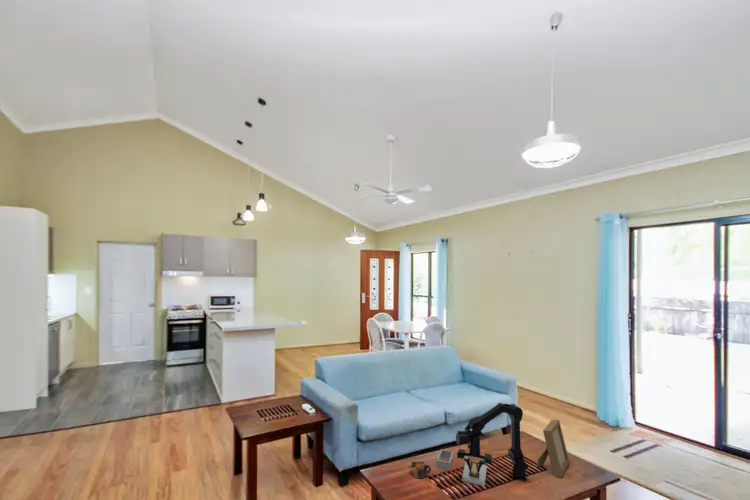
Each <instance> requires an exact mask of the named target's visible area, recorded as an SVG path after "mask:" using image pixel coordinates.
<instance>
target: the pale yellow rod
mask: <svg viewBox="0 0 750 500" xmlns="http://www.w3.org/2000/svg"><path fill="white" fill-rule="evenodd" d="M470 462H471V477H475V478H478V464H479V461H478V460H477V459H476V460H475V459H472V460H471V459H470Z"/></svg>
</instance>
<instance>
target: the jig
mask: <svg viewBox="0 0 750 500" xmlns="http://www.w3.org/2000/svg"><path fill="white" fill-rule="evenodd" d="M464 463H465V464H464V467H463V470H462V477H461V479H462V480H461V481H462V482H464V483H469V484H475V485H480V486H484V487H485V486H486V479H487V471H488V470H487V468H488V467H487V464H483V465H482V466H481V468H480V471H479V473H478V478H475V477H471V472H470V470H469V467H468V465H467V463H466V462H464ZM470 464H471V461H470ZM478 467H479V463H478Z"/></svg>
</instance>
